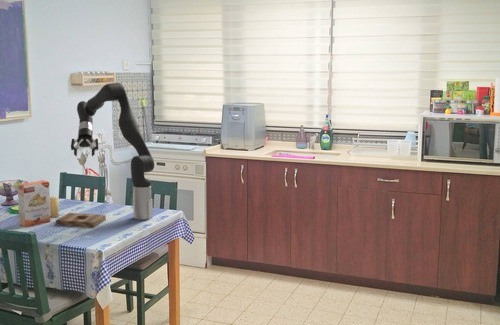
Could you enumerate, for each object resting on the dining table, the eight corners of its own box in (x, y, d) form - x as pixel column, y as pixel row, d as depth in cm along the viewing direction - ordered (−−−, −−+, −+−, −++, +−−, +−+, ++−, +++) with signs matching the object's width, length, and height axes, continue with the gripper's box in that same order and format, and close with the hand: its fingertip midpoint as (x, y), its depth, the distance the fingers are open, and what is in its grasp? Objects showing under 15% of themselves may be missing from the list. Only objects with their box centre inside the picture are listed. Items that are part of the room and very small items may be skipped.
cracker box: (25, 227, 268) (23, 185, 265) (18, 225, 272) (16, 183, 268) (51, 221, 279) (49, 181, 276) (44, 219, 283) (42, 179, 279)
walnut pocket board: (105, 219, 285) (105, 215, 284) (94, 227, 271) (94, 222, 271) (69, 217, 288) (68, 212, 287) (55, 224, 274) (55, 220, 274)
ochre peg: (60, 215, 291) (59, 197, 289) (56, 217, 287) (55, 199, 285) (52, 215, 291) (52, 196, 289) (49, 217, 287) (48, 198, 285)
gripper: (71, 127, 301) (69, 151, 292) (98, 127, 304) (97, 151, 295) (72, 135, 307) (71, 159, 298) (99, 135, 310) (98, 159, 301)
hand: (84, 155), depth 296 cm, fingers open, 8 cm apart
